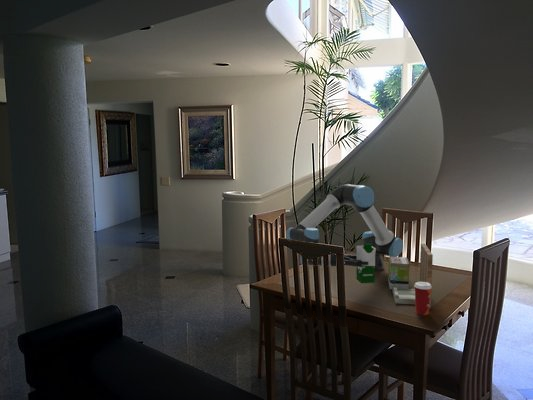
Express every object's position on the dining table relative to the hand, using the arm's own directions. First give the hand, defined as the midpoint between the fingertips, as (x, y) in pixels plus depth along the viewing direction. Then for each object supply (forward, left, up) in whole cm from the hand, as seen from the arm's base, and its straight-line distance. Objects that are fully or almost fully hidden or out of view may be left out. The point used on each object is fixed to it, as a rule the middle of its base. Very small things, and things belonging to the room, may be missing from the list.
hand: (374, 260), depth 231 cm
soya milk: (0, -4, -11) cm, 12 cm away
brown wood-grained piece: (+1, +17, -19) cm, 25 cm away
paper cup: (+20, +21, -19) cm, 35 cm away
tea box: (-19, +14, -19) cm, 30 cm away
